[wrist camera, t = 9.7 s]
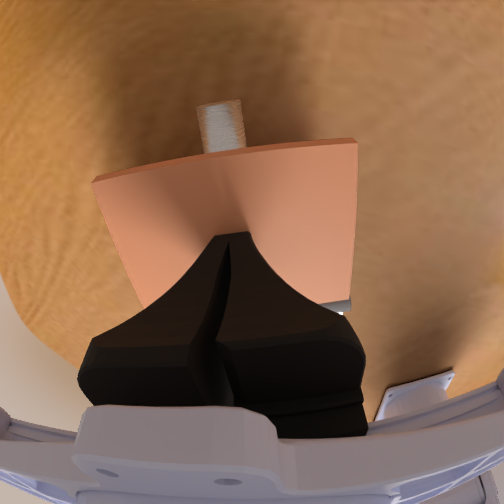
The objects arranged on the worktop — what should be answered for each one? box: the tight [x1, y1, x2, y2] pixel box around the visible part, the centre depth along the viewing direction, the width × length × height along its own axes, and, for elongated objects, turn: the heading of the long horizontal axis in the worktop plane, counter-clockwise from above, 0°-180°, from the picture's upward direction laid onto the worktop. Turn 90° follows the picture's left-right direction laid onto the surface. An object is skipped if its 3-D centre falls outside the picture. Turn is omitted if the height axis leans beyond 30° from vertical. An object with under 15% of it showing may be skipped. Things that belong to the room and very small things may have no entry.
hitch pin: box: [196, 99, 247, 154], centre depth 16 cm, size 17×4×4 cm, turn 7°
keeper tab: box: [91, 138, 358, 313], centre depth 12 cm, size 8×9×1 cm
